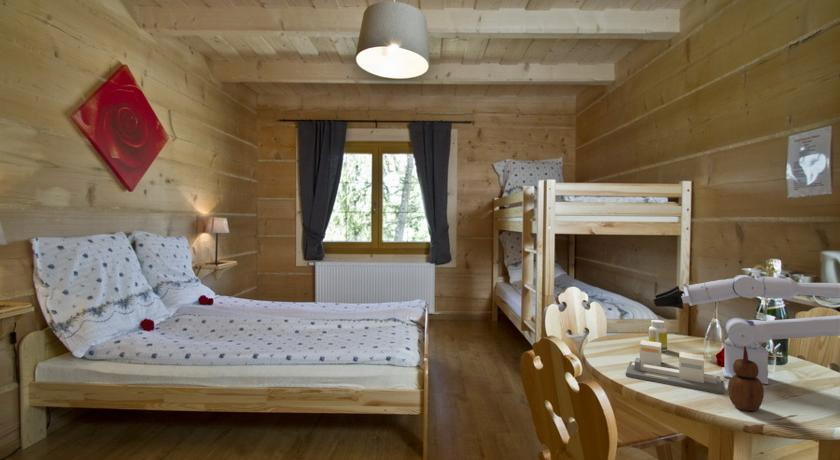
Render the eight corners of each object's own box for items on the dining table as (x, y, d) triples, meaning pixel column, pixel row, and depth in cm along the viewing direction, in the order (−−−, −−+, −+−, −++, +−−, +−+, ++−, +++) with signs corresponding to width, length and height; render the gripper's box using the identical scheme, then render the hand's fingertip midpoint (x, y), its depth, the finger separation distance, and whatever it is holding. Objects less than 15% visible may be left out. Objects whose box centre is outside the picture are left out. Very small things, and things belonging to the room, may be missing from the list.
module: (661, 361, 125) (661, 342, 125) (660, 366, 121) (660, 347, 121) (641, 358, 128) (641, 340, 128) (639, 363, 124) (639, 344, 124)
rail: (719, 379, 110) (719, 354, 110) (722, 394, 101) (722, 366, 101) (630, 364, 123) (630, 341, 123) (625, 376, 114) (625, 351, 113)
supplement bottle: (668, 348, 138) (668, 320, 137) (666, 353, 133) (666, 323, 133) (650, 346, 141) (650, 318, 141) (647, 349, 137) (647, 321, 136)
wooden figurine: (751, 416, 90) (751, 350, 89) (723, 405, 95) (723, 343, 95) (768, 410, 92) (768, 346, 92) (740, 400, 98) (740, 339, 97)
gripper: (701, 276, 123) (653, 285, 131) (703, 281, 111) (649, 291, 119) (709, 298, 122) (659, 306, 130) (712, 306, 110) (657, 314, 118)
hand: (655, 300), depth 124 cm, fingers open, 7 cm apart
